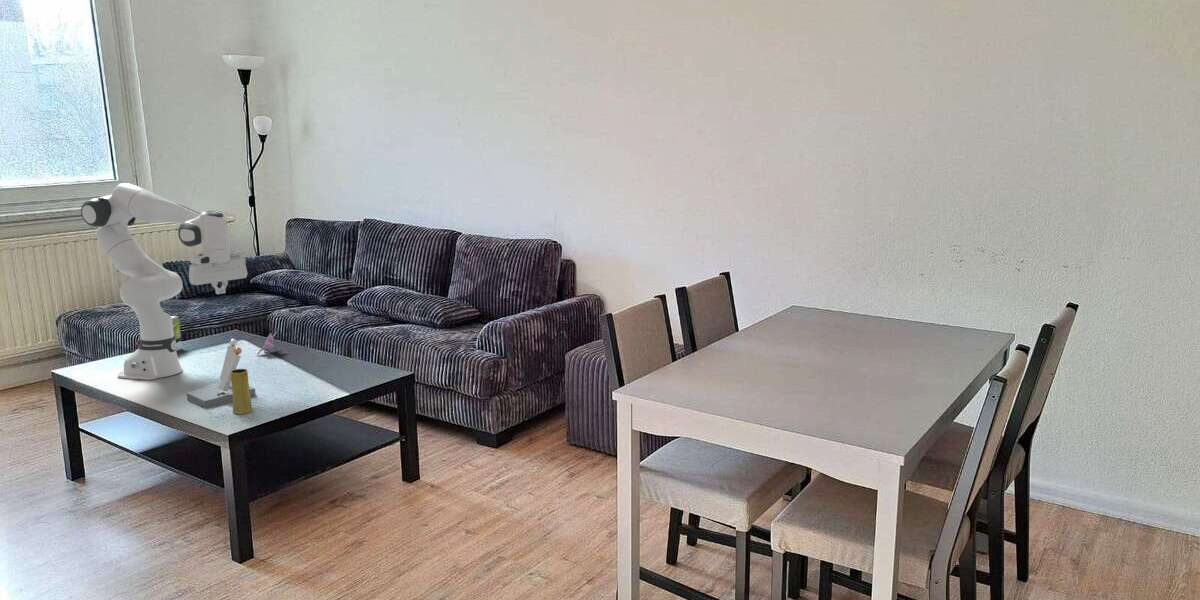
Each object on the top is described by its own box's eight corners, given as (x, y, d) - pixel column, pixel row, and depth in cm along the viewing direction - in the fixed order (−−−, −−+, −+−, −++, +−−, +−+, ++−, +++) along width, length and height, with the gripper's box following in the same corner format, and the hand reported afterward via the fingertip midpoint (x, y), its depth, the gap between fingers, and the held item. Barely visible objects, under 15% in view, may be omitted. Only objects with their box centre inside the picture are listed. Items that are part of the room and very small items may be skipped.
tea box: (165, 358, 357) (161, 323, 354) (141, 358, 357) (136, 323, 354) (183, 348, 372) (179, 315, 369) (159, 348, 372) (155, 315, 369)
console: (205, 408, 295) (204, 399, 294) (187, 399, 304) (186, 391, 303) (255, 395, 308) (254, 387, 307) (236, 387, 317) (236, 379, 316)
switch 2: (221, 390, 299) (238, 347, 301) (216, 388, 301) (233, 345, 304) (228, 391, 301) (244, 349, 303) (223, 389, 303) (240, 347, 305)
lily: (278, 350, 370) (265, 332, 368) (294, 343, 364) (280, 325, 361) (259, 366, 361) (245, 347, 358) (275, 359, 354) (260, 340, 352)
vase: (236, 408, 293) (232, 368, 290) (255, 408, 294) (251, 368, 291) (230, 414, 287) (226, 373, 284) (249, 414, 288) (245, 373, 285)
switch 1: (222, 382, 308) (233, 339, 309) (218, 380, 310) (228, 337, 311) (229, 382, 310) (240, 340, 311) (225, 380, 312) (235, 338, 313)
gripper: (240, 251, 323) (243, 288, 326) (185, 258, 308) (189, 296, 311) (248, 253, 319) (252, 290, 322) (193, 260, 304) (197, 299, 307)
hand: (220, 293), depth 316 cm, fingers closed
